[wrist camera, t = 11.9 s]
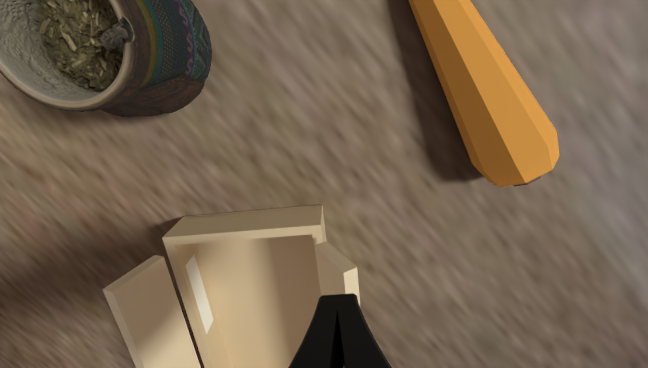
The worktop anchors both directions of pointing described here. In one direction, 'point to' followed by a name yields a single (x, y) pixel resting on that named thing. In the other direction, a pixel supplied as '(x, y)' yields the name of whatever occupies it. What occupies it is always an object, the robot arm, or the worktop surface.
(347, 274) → the flap
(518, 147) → the carrot
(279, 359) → the carton
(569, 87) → the worktop surface
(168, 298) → the flap
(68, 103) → the mate gourd
